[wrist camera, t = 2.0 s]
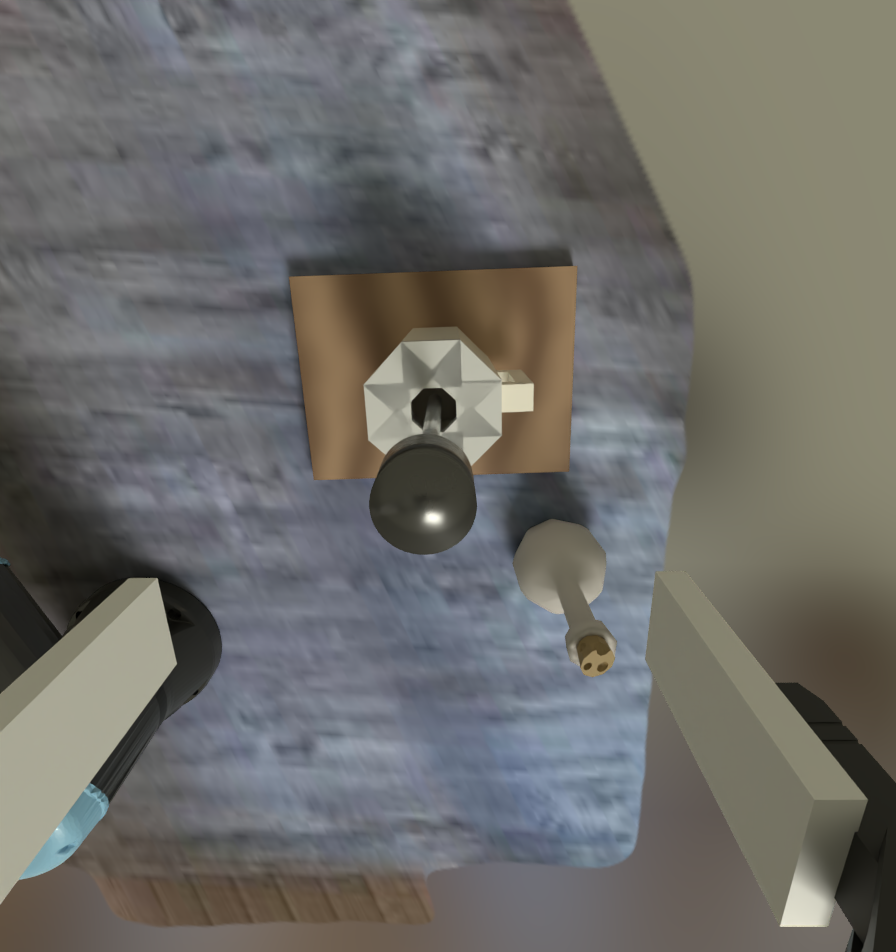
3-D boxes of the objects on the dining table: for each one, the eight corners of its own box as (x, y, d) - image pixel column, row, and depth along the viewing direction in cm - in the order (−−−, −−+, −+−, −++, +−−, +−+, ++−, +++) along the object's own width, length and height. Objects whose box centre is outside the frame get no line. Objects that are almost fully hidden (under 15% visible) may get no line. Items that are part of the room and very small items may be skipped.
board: (317, 474, 53) (313, 480, 51) (293, 277, 47) (288, 276, 45) (565, 466, 52) (569, 471, 51) (573, 266, 46) (577, 265, 45)
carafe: (389, 431, 50) (371, 477, 38) (382, 328, 47) (359, 343, 35) (517, 426, 49) (539, 471, 37) (517, 324, 47) (542, 336, 34)
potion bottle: (521, 502, 54) (556, 603, 37) (607, 520, 54) (680, 627, 37) (499, 579, 56) (522, 705, 39) (581, 595, 57) (638, 726, 40)
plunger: (408, 428, 40) (373, 556, 21) (405, 373, 38) (365, 456, 20) (463, 426, 40) (477, 552, 21) (461, 371, 38) (475, 452, 20)
